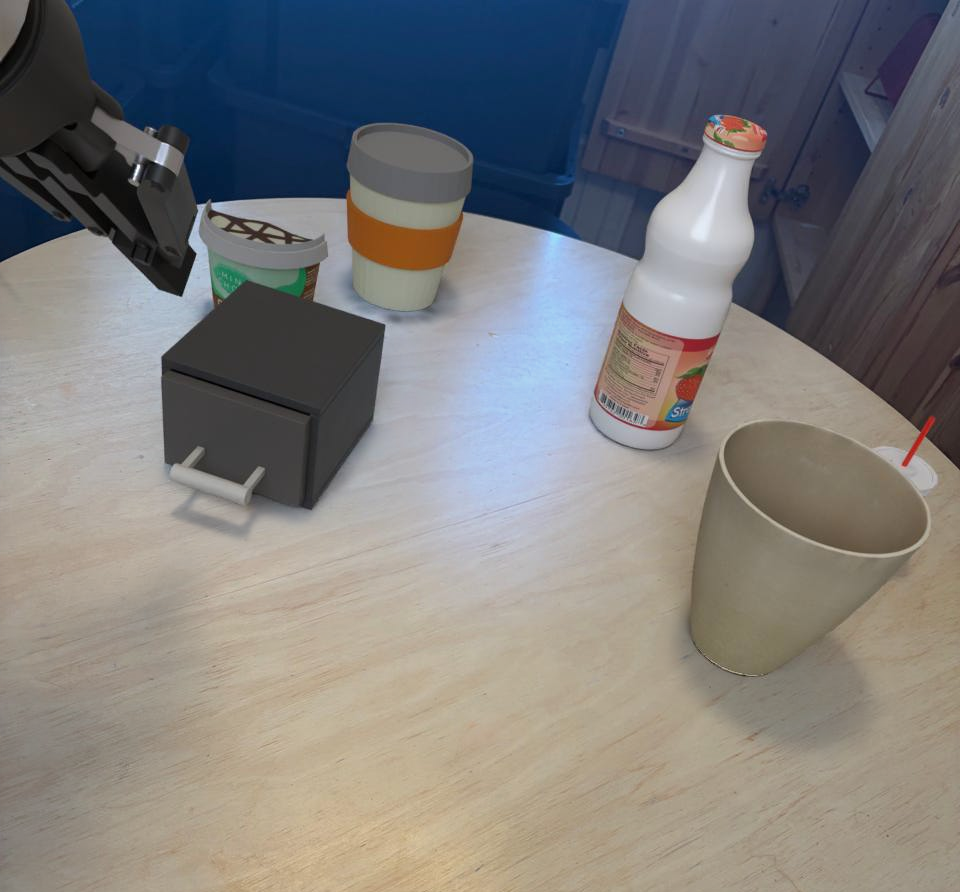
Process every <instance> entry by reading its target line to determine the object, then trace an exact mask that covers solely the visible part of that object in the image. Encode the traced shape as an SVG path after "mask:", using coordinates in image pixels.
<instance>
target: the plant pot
mask: <svg viewBox="0 0 960 892" xmlns="http://www.w3.org/2000/svg"><path fill="white" fill-rule="evenodd" d="M932 525H933V519H932V514H931V510H930V507H929V505H928V502H927V500H926V498H925V496H924V497H923V495H922V494H921V492H920V491H919V489H918V488H917V487H916V485H915V484H914V483H913V482H912V481H911V480H910V479H909V478H908V476H907V475H906V474H905V473H903V472H902V471H901V470H900V469H899V468H898V467H897V466H895V465H894V464H893V463H892V462H890V461H889V460H888V459H886V458H885V457H883V456H882V455H881V454H879V453H878V452H876V451H874V450H873V448H871V447H869V446H868V445H866V444H864V443H862V442H861V441H859V440H857V439H855V438H852V437H851V436H848V435H846V434H844V433H841V432H840V431H837V430H834V429H832V428H829V427H826V426H823V425H820V424H816V423H812V422H808V421H804V420H798V419H791V418H789V419H788V418H782V417H781V418H778V417H777V418H776V417H775V418H773V417H770V418H768V417H767V418H758V419H752V420H748V421H746V422H742V423H740V424H739V425H735V426H734V427H733V428H731V429H730V430H728V432H727V433H726V434H725V435H724V436H723V438H722V440H721V442H720V444H719V448H718V451H717V455H716V458H715V462H714V465H713V468H712V472H711V476H710V480H709V483H708V487H707V491H706V495H705V499H704V503H703V507H702V511H701V517H700V520H699V527H698V531H697V538H696V545H695V549H694V550H695V551H694V559H693V566H692V574H691V575H692V576H691V577H692V578H691V590H690V592H691V593H690V636H691V635H692V636H691V638H693V639H692V641H693V640H694V642H695V644H696V645H697V647H698V648H699V650H701V651H702V653H703V654H705V656H707V657H708V658H709V659H710V660H712V661H713V662H715V663H717V664H718V665H720V666H721V667H724V668H726V669H728V670H731V671H734V672H738V673H742V674H747V675H761V674H766V673H768V674H770V673H772V672H774V671H775V670H777V669H779V668H780V667H782V666H783V665H785V664H787V663H788V662H790V661H792V660H793V659H795V658H796V657H797V656H799V655H800V654H802V653H803V652H806V651H807V650H808V649H809V648H811V647H812V646H814V645H815V644H816V643H819V641H820V640H822V639H823V638H825V637H826V636H827V635H828V634H830V633H831V632H832V631H834V630H835V629H836V628H837V627H839V626H840V625H841V624H842V623H844V622H845V621H846V620H848V618H849V617H851V616H852V615H853V614H854V613H856V611H857V610H859V609H860V608H862V606H864V605H865V603H867V602H868V601H869V600H870V599H871V598H872V597H873V596H874V595H875V594H877V592H879V591H880V590H881V588H883V587H884V586H885V585H886V584H887V583H888V582H889V580H891V579H892V577H894V575H895V574H896V573H897V572H898V571H900V570H901V568H902V567H903V566H904V565H905V564H906V563H907V562H908V561H909V560H910V559H911V558H912V557H913V556H914V555H915V553H916V552H917V551H919V550H920V548H921V547H922V546H923V545H924V544H925V542H926V541H927V540H928V538H929V536H930V535H931V532H932ZM694 642H693V643H694ZM695 644H694V645H695ZM696 645H695V646H696ZM697 647H696V648H697ZM698 648H697V649H698ZM699 650H698V651H699ZM769 672H770V673H769ZM766 675H767V674H766Z"/></svg>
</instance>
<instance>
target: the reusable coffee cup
mask: <svg viewBox="0 0 960 892" xmlns="http://www.w3.org/2000/svg"><path fill="white" fill-rule="evenodd" d="M350 141H351V142H350V146H349V147H350V148H349V152H348V157H347V161H346V168H347V171H348V173H349V184H350V187H349V189H348V190H347V193H346V223H347V225H346V226H347V242H348V243H349V245H350V247H351V263H352V288H353V290H354V292H355V293H356V294H357V295H358V296H359V297H360V298H361V299H362V300H364V301H366V302H368V303H369V304H371V305H373V306H376V307H379V308H382V309H386V310H391V311H395V312H414V311H421V310H424V309H426V308H428V307H429V306H431V305H433V303H434V301H435V298H436V295H437V292H438V289H439V286H440V282H441V279H442V275H443V272H444V269H445V265H446V264H448V263H449V262H450V260H451V258H452V257H453V253H454V250H455V247H456V243H457V240H458V237H459V234H460V231H461V227H462V223H463V220H464V213H463V207H464V204H465V200H466V197H467V196H468V195H469V194H470V193H471V191H472V181H473V180H472V179H473V167H474V166H473V165H474V156H473V153H472V152H471V150H470V149H469V148H468V147H466V146H465V145H464V144H463V143H462V142H460V141H459V140H457V139H456V138H453V137H451V136H449V135H446V134H444V133H442V132H439V131H436V130H433V129H430V128H426V127H422V126H417V125H413V124H406V123H397V122H376V123H369V124H366V125H362V126H360V127H358V128H356V129H355V130H354V131H353V134H352V137H351V140H350Z"/></svg>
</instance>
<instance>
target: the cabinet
mask: <svg viewBox="0 0 960 892" xmlns="http://www.w3.org/2000/svg"><path fill="white" fill-rule="evenodd" d="M386 327H387V324H385V323H382V322H380V321H376V320H374V319H370V318H367V317H365V316H361V315H357V314H354V313H352V312H348V311H345V310H342V309H340V308H336V307H332V306H329V305H326V304H324V303H320V302H317V301H314V300H313V301H311V300H308V299H305V298H302V297H298V296H295V295H292V294H289V293H286V292H283V291H280V290H277V289H273V288H270V287H267V286H264V285H261V284H258V283H255V282H252V281H248V280H245V281H244V282H243V283H242V284H241V285H240V286H239V287H238V288H237V289H235V290H234V291H233V292H232V293H231V294H230V295H229V296H228V297H227V298H226V299H224V300H223V301H222V302H221V303H220V304H219V305H218V306H217V307H216V308H214V307H213V309H212V310H211V311H210V312H209V313H207V314H206V316H204V317H203V318H202V319H201V320H200V321H199V322H198V323H196V325H194V326H193V327H192V328H191V329H190V330H189V331H188V332H186V333H185V334H184V335H183V336H182V337H181V338H180V339H179V340H178V341H176V342H175V344H173V345H172V346H171V347H170V348H169V349H168V350H166V352H164V353H163V354H162V355H161V357H160V361H161V366H160V367H161V377H162V376H163V375H164V374H165V373H166V372H167V371H168V370H170V371H173V372H177V373H180V374H183V375H186V374H189V375H192V376H195V377H198V378H201V379H205V380H208V381H211V382H214V383H217V384H220V385H223V386H226V387H229V388H232V389H235V390H238V391H241V392H244V393H247V394H250V395H253V396H257V397H260V398H263V399H266V400H269V401H272V402H275V403H278V404H281V405H284V406H287V407H290V408H293V409H296V410H299V411H302V412H305V413H308V414H310V416H311V426H310V438H309V450H308V463H307V475H306V487H305V499H304V501H303V502H302V504H301V505H300V506H299V508H303V509H306V510H308V511H312V510H313V509H314V506H315V505H316V504H317V502H318V501H319V499H320V498H321V497H322V495H323V494H324V492H325V491H326V489H327V488H328V486H329V485H330V484H331V482H332V481H333V479H334V478H335V477H336V475H337V473H338V472H339V471H340V469H341V468H342V466H343V465H344V464H345V462H346V460H347V459H348V457H349V456H350V455H351V454H352V452H353V451H354V449H355V447H356V446H357V445H358V443H359V442H360V440H361V439H362V437H364V435H365V433H366V431H368V429H369V427H370V426H371V424H372V423H373V421H374V417H375V409H376V402H377V393H378V386H379V378H380V373H381V365H382V364H381V363H382V358H383V357H382V356H383V350H384V349H383V348H384V342H385V335H386V334H385V333H386Z"/></svg>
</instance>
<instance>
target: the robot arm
mask: <svg viewBox="0 0 960 892" xmlns="http://www.w3.org/2000/svg"><path fill="white" fill-rule="evenodd" d="M83 42H84V41H83V37H82V34H81V31H80V28H79V25H78V22H77V20H76V18H75V16H74V14H73V11H72V10H71V8H70V6H69V5H68V3H67V2H66V0H0V178H1V179H3V180H4V181H5V182H6V183H8V184H9V185H10V186H12V187H13V188H15V189H16V190H18V191H19V192H20V193H22V194H23V195H24V196H25V197H27V198H28V199H29V200H31V201H33V202H34V203H35V204H36V205H37V206H38V207H40V208H41V209H43V210H45V211H46V212H47V213H48V214H50V216H51V215H52V217H53V218H54V219H55V220H58V221H60V222H63V221H64V222H72V219H73V217H74V218H75V219H77V221H79V222H80V223H81V225H82V226H83V227H85V228H86V229H87V231H89V232H90V233H91V234H93V235H94V236H97V237H104V238H108V240H109V241H111V244H112V245H113V246H114V247H115V248H116V249H117V250H118V251H119V252H120V253H121V254H122V255H123V256H124V257H125V258H126V259H127V260H128V261H129V262H130V263H131V264H132V265H133V266H134V267H135V268H136V269H137V270H138V272H140V273H141V274H142V275H143V276H144V277H145V278H146V279H147V280H148V281H149V282H150V283H151V284H152V285H153V286H154V287H155V288H156V289H157V290H158V291H162V292H164V293H167V294H170V295H174V296H176V297H180V298H183V297H184V293H185V290H186V287H187V284H188V281H189V279H190V275H191V273H192V269H193V267H194V264H195V262H196V257H197V255H198V253H197V252H196V251H195V250H194V248H193V247H192V246H191V245H190V242H189V240H190V237H191V234H192V231H193V228H194V226H195V222H196V219H197V216H198V213H199V208H198V205H197V201H196V197H195V194H194V190H193V188H192V185H191V182H190V178H189V175H188V170H187V168H186V164H185V161H184V159H185V157H186V153H187V150H188V147H189V145H190V142H191V139H190V137H189V136H188V135H187V134H186V133H185V132H183V130H181V129H179V128H178V127H176V126H173V125H168V124H163V125H161V127H160V128H159V129H158V131H157V129H155V128H154V127H151V126H145V127H144V130H141V129H139V128H137V127H136V126H134V125H132V124H130V123H128V122H126V121H125V113H124V111H123V108H122V106H121V104H120V103H119V102H118V101H117V100H116V99H115V98H114V96H112V95H111V94H110V93H108V92H107V91H106V90H104V89H103V88H102V87H100V86H99V85H98V84H97V82H95V81H94V80H93V79H92V78H91V74H90V70H89V65H88V62H87V56H86V52H85V45H84V43H83Z"/></svg>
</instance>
